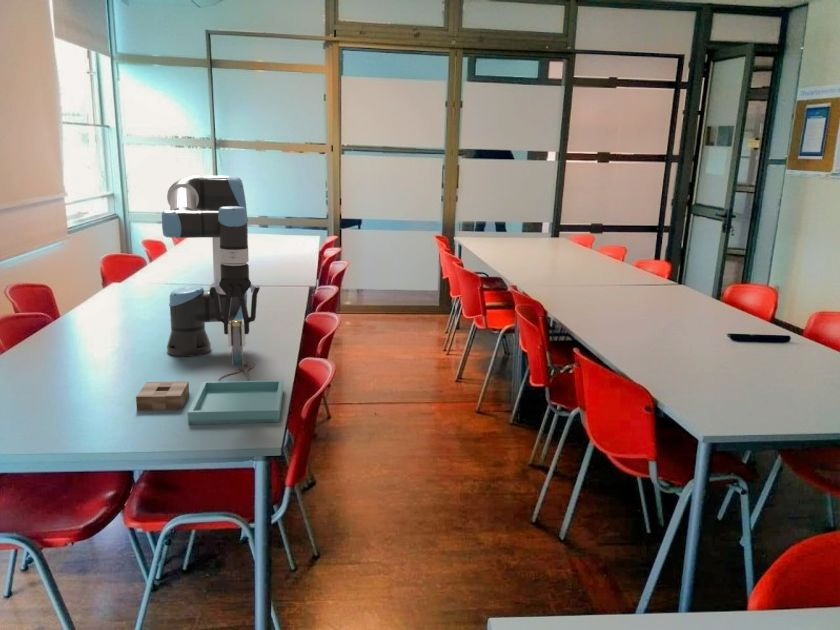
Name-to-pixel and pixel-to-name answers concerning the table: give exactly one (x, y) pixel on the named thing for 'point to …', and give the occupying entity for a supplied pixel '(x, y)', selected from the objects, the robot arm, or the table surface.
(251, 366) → the pliers
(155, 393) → the pin block
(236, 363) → the pin
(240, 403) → the tray
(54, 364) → the table surface
